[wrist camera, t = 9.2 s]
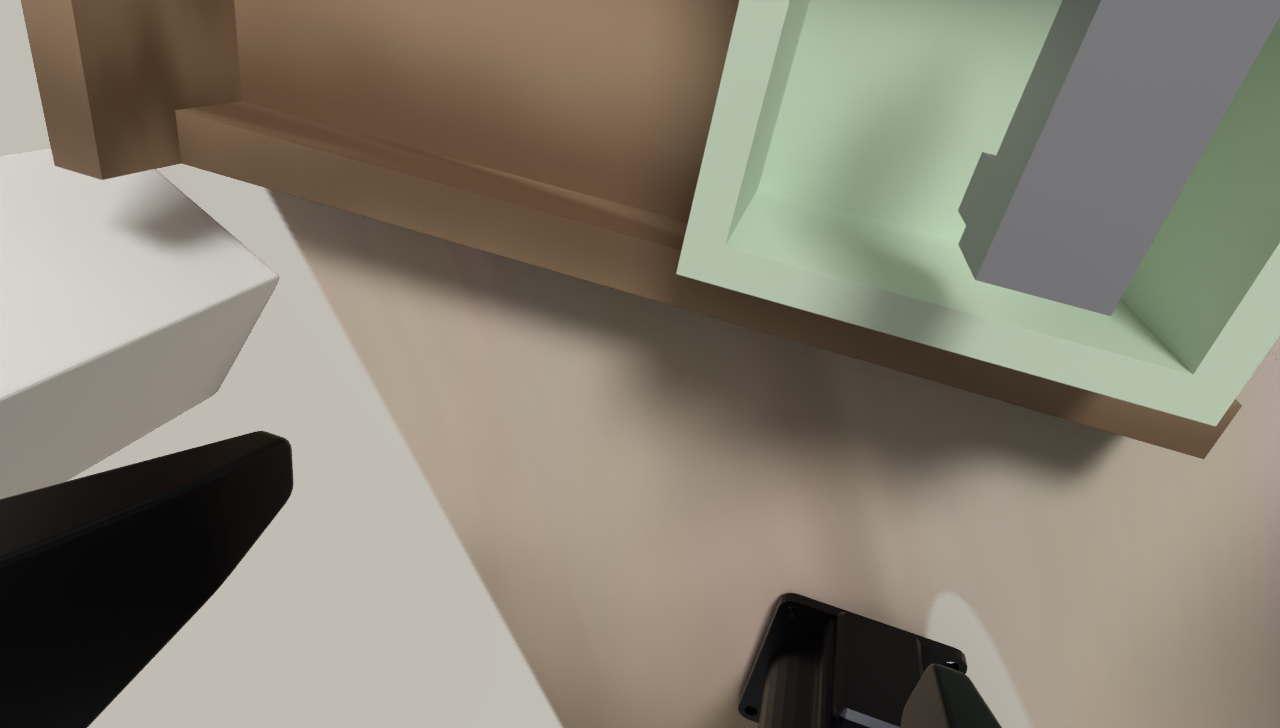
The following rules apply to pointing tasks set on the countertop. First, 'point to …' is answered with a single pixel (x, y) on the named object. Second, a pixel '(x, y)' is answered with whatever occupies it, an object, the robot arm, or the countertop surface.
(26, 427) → the milk carton
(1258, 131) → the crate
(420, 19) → the bay
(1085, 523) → the countertop surface
